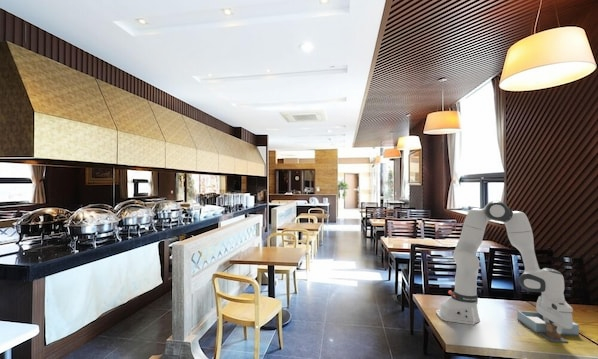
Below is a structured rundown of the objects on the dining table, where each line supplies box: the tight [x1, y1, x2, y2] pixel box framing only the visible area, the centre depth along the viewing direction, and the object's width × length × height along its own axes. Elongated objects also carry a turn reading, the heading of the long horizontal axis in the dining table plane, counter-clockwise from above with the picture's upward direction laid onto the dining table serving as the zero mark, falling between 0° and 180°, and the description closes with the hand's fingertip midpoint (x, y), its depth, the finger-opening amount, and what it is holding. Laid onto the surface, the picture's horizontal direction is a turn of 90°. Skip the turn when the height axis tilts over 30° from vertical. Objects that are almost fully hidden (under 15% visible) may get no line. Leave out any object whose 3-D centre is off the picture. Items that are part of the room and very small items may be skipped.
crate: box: [516, 310, 580, 337], centre depth 161 cm, size 20×16×6 cm
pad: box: [538, 333, 569, 344], centre depth 149 cm, size 8×8×1 cm
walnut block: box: [546, 323, 562, 339], centre depth 149 cm, size 4×4×6 cm
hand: (553, 329), depth 149 cm, fingers open, 6 cm apart
